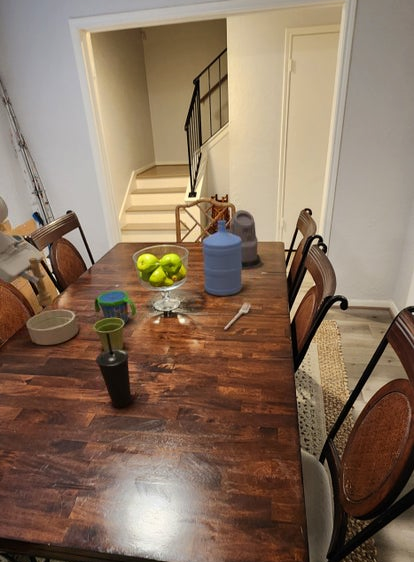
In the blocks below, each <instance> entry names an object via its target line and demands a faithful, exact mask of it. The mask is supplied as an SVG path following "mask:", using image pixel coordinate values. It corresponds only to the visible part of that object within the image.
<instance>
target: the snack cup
mask: <svg viewBox="0 0 414 562" xmlns="http://www.w3.org/2000/svg"><path fill="white" fill-rule="evenodd" d="M128 305H129V306H128ZM128 307H130V309H131V317H134V316H135V315H136V313H137V309H136V306H135V304H134V302H133V300H132V299H131V298H130V297H129V295H128V292H126V291H123V290H110V291H107V292H103V293H102V294H100V295H99V296H98V297H96V298H95V299H94V311H95V313H100V311H102V314H103V317H104V319H106V318H120V319H122V320H123V321H124V324H126V323H127V322H128V320H129V309H128Z"/></svg>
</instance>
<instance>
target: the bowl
mask: <svg viewBox="0 0 414 562" xmlns="http://www.w3.org/2000/svg"><path fill="white" fill-rule="evenodd" d="M25 325H26V328H27V331H28V333H29V337H30V339H31V342H32V343H35V344H36V345H40V346H41V345H42V346H53V345H58V344H61V343H64V342H68V341H69V340H71V339H73V338H74V337H75V336H76V335H77V334H78V332H79V329H80V328H79V323H78V320H77V315H76V314H75V313H74V311H72V310H70V309H61V308H60V309H51V310H47V311H43V312H40V313H38V314H35V315H33V316H32V317H31V318H28V320H27V322H26V323H25Z"/></svg>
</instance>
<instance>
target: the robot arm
mask: <svg viewBox="0 0 414 562" xmlns="http://www.w3.org/2000/svg"><path fill="white" fill-rule="evenodd" d="M8 216H9V208H8V205H7V203H6V202H5V200H4V199H3V198H2V197H1V196H0V226H1V225H2V224H3V223H4V222H5V220H6V219H7V218H8ZM31 258H37V260H38V264H39V265H40V263H41V262H42V261H43V259H44V254H43V253H42V252H41V251H40V250H39V249H37V248H36V247H35V246H34V245H32V244H31V243H29V242H28V241H25V238H24V237H23V236H22V235H20V234H9V233H4V232H3V231H2V230H0V280H1V281H2V282H4V283H6V284H11V283H13V282H14V281H16V280H17V279H19V278H22V279H23V280H26V281H29V282H31V283H32V284H35V285H36V283H37V282H38V281H39V280H40V279H39V278H38V277H37V276H36V275H35V276H34V275H33V274H31V273H30V272H29V271H31V272H32V269H31V266H30V262H29V259H31ZM41 274H42V277H43V279H44V278H45V277H46V274H45V273H44V271H42V270H41Z"/></svg>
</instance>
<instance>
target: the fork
mask: <svg viewBox="0 0 414 562" xmlns="http://www.w3.org/2000/svg"><path fill="white" fill-rule="evenodd" d="M251 306H252V305H251V303H249V302H244V303H243V305H242V306H241V308H240V309H239V310H238V313H236V315H235V316H234V317H233V318H232V319H231V321H229V322H228V323H227V324H226V325H225V327H224V328H223V329H224V330H227V329H228V328H229V327H230V326H231V325H232V324H233V323H234V322H235V321H236V320H237V319H238V318H240V317H241V315H242V314H248V313H249V310H250V308H251Z"/></svg>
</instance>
